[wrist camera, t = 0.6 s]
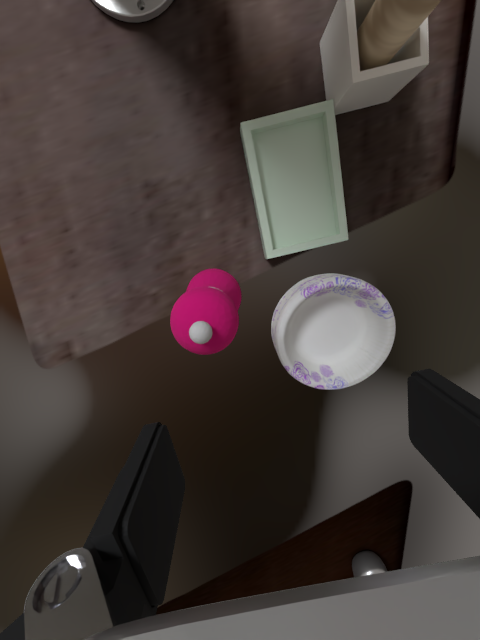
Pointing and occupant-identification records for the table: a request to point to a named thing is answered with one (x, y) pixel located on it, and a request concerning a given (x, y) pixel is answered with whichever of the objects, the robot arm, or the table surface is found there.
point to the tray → (296, 178)
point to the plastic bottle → (367, 564)
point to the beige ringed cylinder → (389, 29)
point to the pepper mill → (207, 312)
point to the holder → (344, 67)
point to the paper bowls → (332, 330)
